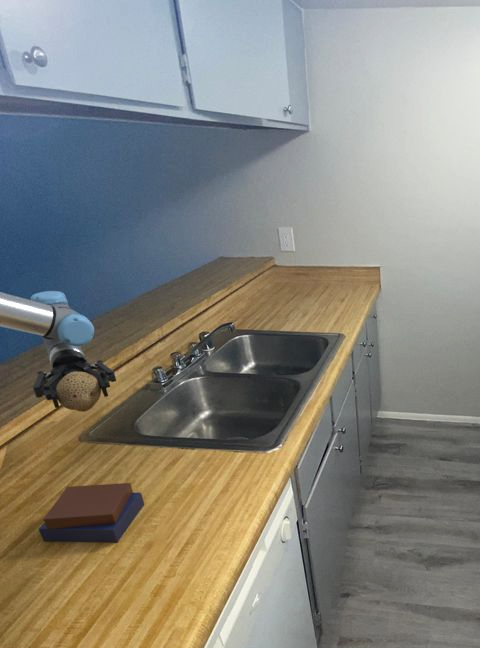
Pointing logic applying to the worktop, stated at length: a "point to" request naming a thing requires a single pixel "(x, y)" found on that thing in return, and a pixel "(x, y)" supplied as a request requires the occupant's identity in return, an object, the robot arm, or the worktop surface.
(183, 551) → the worktop surface
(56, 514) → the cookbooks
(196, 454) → the worktop surface
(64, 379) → the natural sponge
